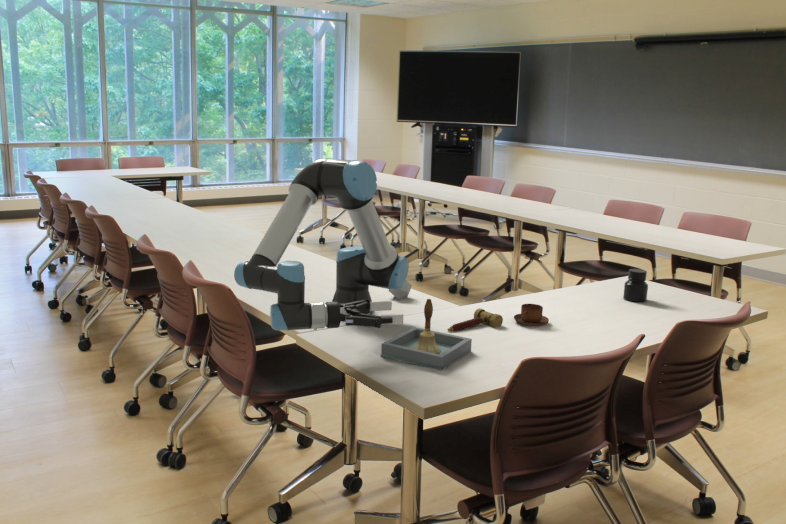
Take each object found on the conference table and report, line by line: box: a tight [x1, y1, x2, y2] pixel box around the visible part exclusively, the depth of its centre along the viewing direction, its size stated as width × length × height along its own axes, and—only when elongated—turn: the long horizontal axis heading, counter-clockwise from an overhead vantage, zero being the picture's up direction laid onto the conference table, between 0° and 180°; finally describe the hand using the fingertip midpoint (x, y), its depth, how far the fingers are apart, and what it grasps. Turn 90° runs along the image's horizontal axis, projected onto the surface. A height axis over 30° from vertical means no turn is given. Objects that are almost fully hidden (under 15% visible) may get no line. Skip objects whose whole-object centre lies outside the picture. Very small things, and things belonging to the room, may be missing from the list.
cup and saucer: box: [513, 303, 550, 327], centre depth 247 cm, size 12×12×6 cm
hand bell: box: [413, 298, 441, 354], centre depth 211 cm, size 8×8×16 cm
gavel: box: [447, 307, 504, 332], centre depth 241 cm, size 21×5×10 cm
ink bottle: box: [622, 268, 649, 303], centre depth 282 cm, size 10×9×12 cm
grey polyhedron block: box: [388, 279, 413, 300], centre depth 274 cm, size 8×9×10 cm
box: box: [380, 326, 472, 372], centre depth 213 cm, size 20×20×4 cm
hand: (397, 312), depth 208 cm, fingers open, 13 cm apart
